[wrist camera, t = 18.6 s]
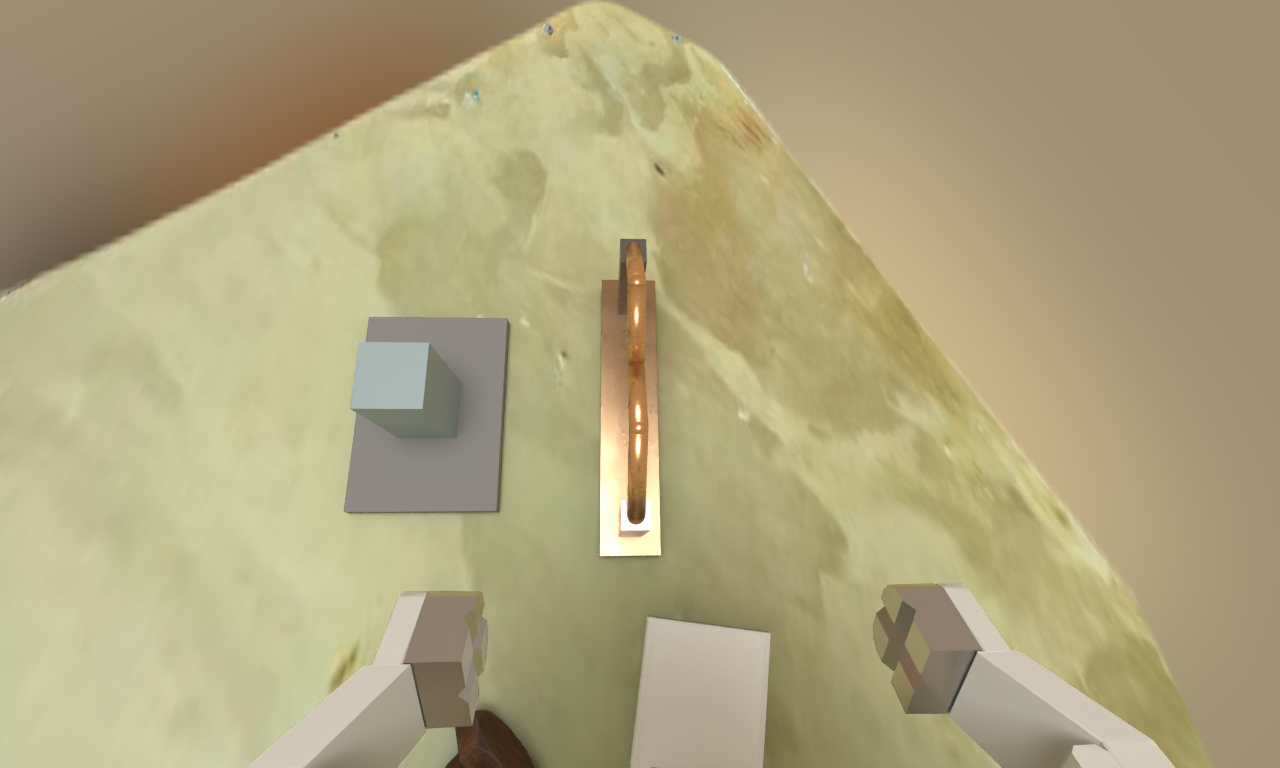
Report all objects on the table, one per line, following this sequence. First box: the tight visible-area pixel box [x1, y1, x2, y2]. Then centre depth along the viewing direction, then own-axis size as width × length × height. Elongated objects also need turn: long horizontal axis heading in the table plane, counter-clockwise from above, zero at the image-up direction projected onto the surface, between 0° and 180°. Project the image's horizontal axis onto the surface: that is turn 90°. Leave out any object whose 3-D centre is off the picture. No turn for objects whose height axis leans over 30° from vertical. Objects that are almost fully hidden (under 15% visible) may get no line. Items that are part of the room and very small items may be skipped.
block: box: [350, 342, 461, 438], centre depth 38 cm, size 4×4×8 cm
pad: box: [344, 317, 509, 513], centre depth 42 cm, size 14×10×1 cm
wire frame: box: [600, 239, 661, 556], centre depth 37 cm, size 20×4×14 cm, turn 1°
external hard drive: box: [630, 616, 771, 768], centre depth 38 cm, size 2×8×12 cm
